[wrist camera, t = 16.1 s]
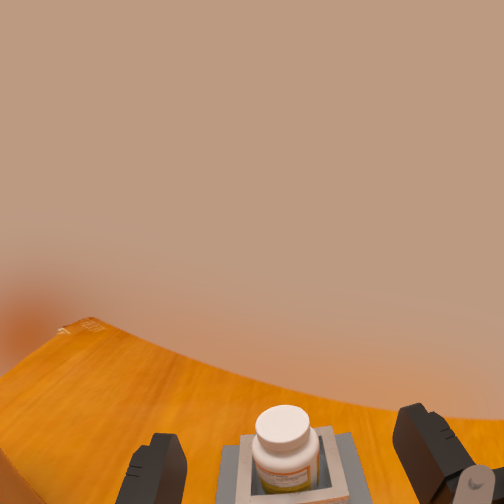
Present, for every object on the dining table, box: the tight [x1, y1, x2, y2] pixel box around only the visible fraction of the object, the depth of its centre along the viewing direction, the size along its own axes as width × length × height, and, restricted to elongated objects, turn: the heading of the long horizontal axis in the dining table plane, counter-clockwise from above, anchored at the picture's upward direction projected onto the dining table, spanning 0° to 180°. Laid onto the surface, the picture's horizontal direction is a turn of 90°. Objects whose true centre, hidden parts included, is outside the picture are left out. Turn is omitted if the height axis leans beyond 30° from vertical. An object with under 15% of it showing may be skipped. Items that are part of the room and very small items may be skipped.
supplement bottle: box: [251, 405, 320, 495], centre depth 21 cm, size 5×5×10 cm
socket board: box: [215, 426, 373, 504], centre depth 22 cm, size 14×12×4 cm
